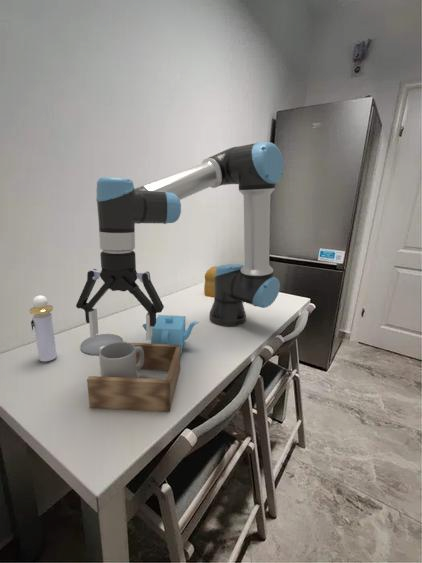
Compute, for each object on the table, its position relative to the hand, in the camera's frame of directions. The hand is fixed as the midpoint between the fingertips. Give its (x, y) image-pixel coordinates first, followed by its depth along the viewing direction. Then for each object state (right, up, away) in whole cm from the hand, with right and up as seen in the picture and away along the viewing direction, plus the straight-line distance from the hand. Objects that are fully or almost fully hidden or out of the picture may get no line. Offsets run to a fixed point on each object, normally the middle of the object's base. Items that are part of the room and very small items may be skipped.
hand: (121, 336), depth 68 cm
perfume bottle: (-26, -10, +14) cm, 32 cm away
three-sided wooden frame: (+3, -14, +4) cm, 14 cm away
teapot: (+9, -9, +22) cm, 25 cm away
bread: (+32, +6, +77) cm, 84 cm away
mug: (0, -14, +4) cm, 14 cm away
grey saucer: (-14, -7, +24) cm, 28 cm away
